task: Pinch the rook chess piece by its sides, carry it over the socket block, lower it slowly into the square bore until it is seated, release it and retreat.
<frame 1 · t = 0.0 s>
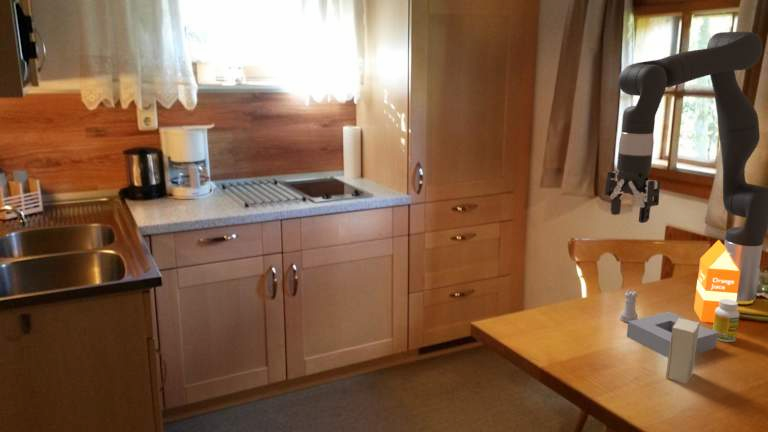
hand: (628, 218, 153), 29 cm above the table, fingers open, 8 cm apart
rook chess piece: (628, 320, 166), on the table
orange juice: (712, 316, 168), on the table
skincare box: (679, 376, 138), on the table
socket block: (670, 342, 153), on the table
supplement bottle: (723, 338, 156), on the table
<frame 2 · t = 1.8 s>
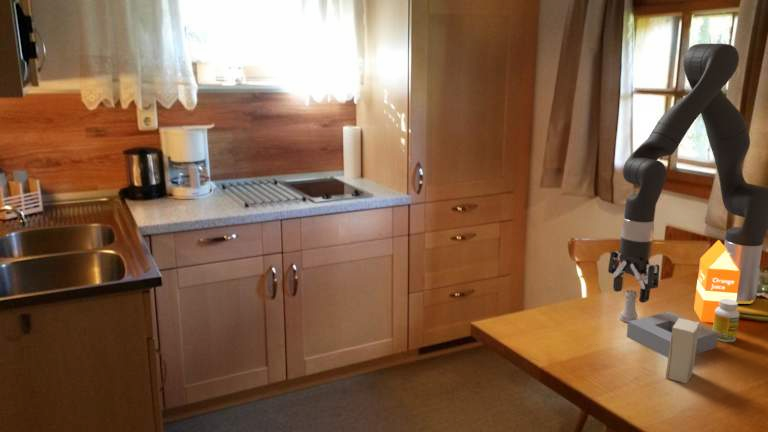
hand: (630, 296, 164), 7 cm above the table, fingers open, 8 cm apart
nothing on the table moved.
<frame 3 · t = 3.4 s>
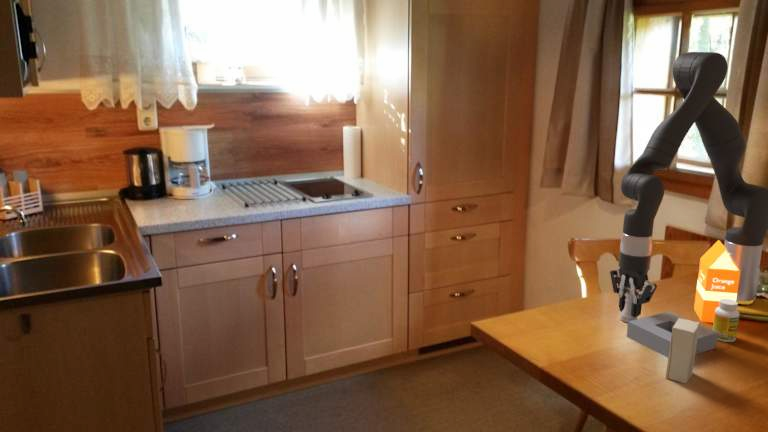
hand: (629, 313, 165), 2 cm above the table, fingers closed on rook chess piece, 3 cm apart
rook chess piece: (628, 320, 166), on the table, touching gripper
everything else where it was.
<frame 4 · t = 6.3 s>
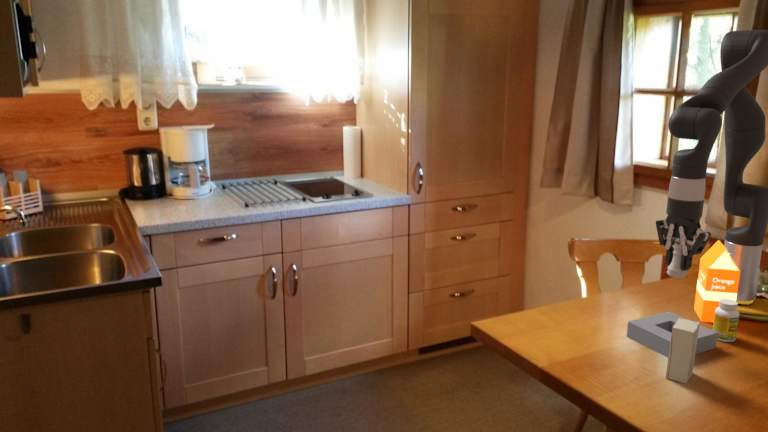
hand: (677, 266, 149), 19 cm above the table, fingers closed on rook chess piece, 3 cm apart
rook chess piece: (676, 275, 149), point 17 cm above the table, touching gripper
everything else where it was.
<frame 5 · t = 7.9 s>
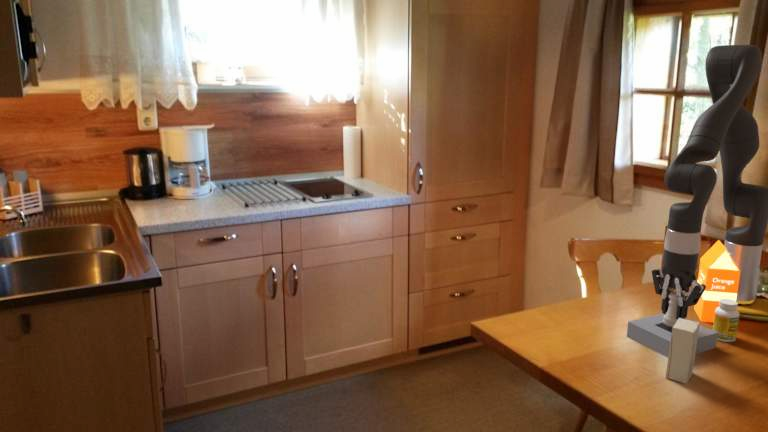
hand: (673, 316, 152), 7 cm above the table, fingers closed on rook chess piece, 3 cm apart
rook chess piece: (672, 324, 152), point 5 cm above the table, touching gripper
everything else where it was.
when the fingers open (5 cm above the table, at t = 9.4 s): rook chess piece drops 2 cm, resting on socket block.
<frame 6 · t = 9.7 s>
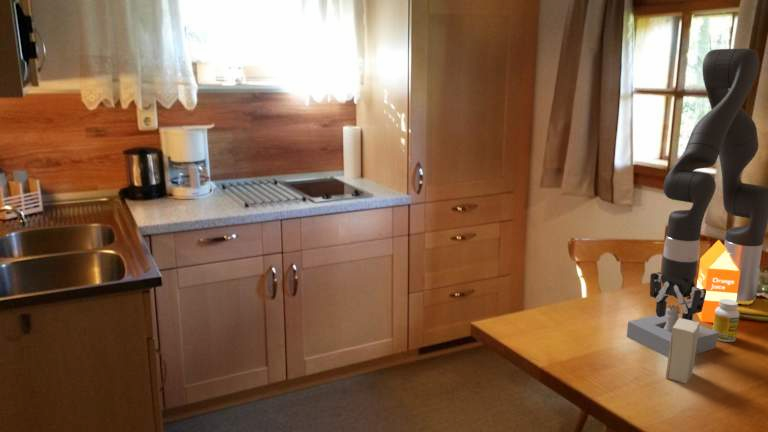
hand: (672, 321, 152), 5 cm above the table, fingers open, 6 cm apart
rook chess piece: (670, 338, 153), point 1 cm above the table, touching socket block
everything else where it was.
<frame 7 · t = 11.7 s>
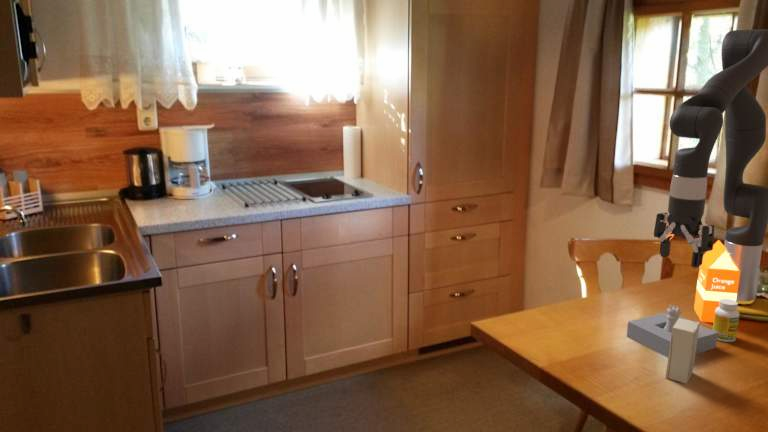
hand: (679, 261, 149), 20 cm above the table, fingers open, 8 cm apart
nothing on the table moved.
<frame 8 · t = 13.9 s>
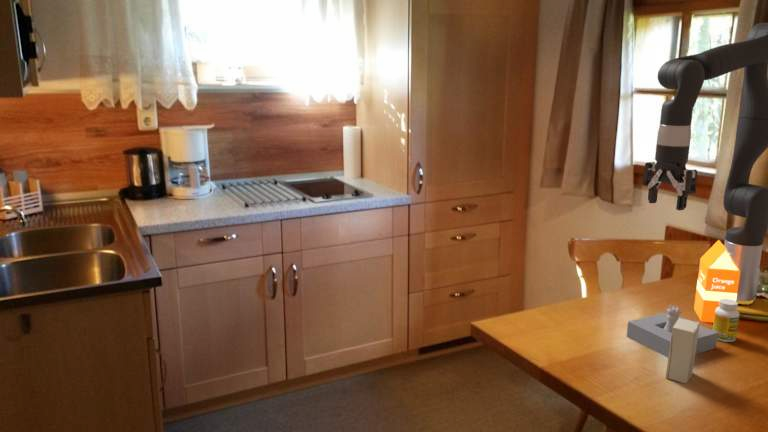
hand: (665, 206, 161), 30 cm above the table, fingers open, 8 cm apart
nothing on the table moved.
at the end: rook chess piece 0.1 cm off-centre on the socket block, point 0.8 cm above the socket block's base; rook chess piece tilted 0°; the gripper is holding nothing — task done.
